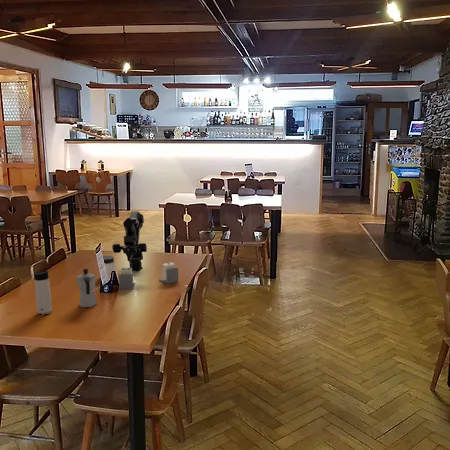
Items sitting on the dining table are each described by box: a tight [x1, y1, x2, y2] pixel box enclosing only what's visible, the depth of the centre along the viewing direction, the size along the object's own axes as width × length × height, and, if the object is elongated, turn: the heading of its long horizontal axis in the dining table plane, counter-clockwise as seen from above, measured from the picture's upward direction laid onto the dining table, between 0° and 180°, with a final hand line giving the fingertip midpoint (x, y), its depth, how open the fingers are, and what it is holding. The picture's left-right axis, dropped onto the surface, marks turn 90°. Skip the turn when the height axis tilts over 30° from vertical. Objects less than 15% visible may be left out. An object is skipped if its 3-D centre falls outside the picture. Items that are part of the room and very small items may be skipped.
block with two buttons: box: [119, 267, 133, 275], centre depth 255 cm, size 4×6×9 cm
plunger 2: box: [162, 261, 176, 281], centre depth 264 cm, size 4×6×9 cm
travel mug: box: [33, 270, 53, 315], centre depth 219 cm, size 6×7×20 cm
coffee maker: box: [76, 268, 98, 308], centre depth 228 cm, size 15×9×18 cm, turn 21°
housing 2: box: [158, 266, 179, 285], centre depth 265 cm, size 8×7×8 cm
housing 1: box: [118, 273, 136, 291], centre depth 256 cm, size 8×7×8 cm
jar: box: [102, 255, 116, 277], centre depth 273 cm, size 9×8×12 cm
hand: (128, 261), depth 265 cm, fingers closed
